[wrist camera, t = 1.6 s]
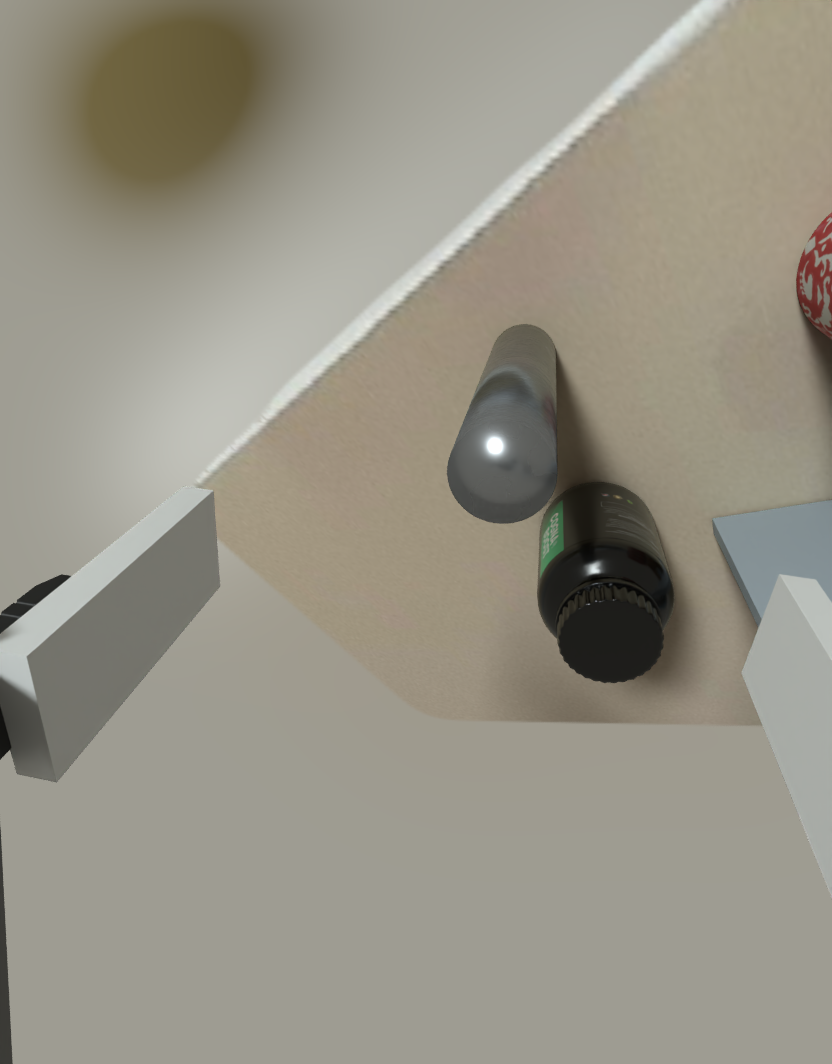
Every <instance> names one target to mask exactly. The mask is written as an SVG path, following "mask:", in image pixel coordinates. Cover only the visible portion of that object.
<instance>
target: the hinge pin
mask: <svg viewBox="0 0 832 1064" xmlns="http://www.w3.org/2000/svg"><path fill="white" fill-rule="evenodd" d="M447 476H448V482H449V486H450V489H451V491H452V493H453V495H454V497H455V499H456V500H457V501H458V503H459V504H460V505H461V506H462V507H463V508H464V509H465V510H466V511H468V512H469V513H470V514H472V515H473V516H475V517H477V518H479V519H482V520H485V521H488V522H493V523H514V522H518V521H522V520H524V519H527V518H529V517H531V516H532V515H534V514H536V513H537V512H538V511H540V510H541V509H542V508H543V507H544V506H545V505H546V503H547V502H548V501H549V499H550V497H551V496H552V494H553V492H554V489H555V486H556V482H557V411H556V351H555V347H554V344H553V341H552V340H551V338H550V337H549V335H548V334H547V333H546V332H545V331H543V330H542V329H540V328H538V327H536V326H533V325H528V324H522V325H516V326H513V327H511V328H509V329H507V330H506V331H504V332H503V333H502V334H501V335H500V336H499V337H498V338H497V340H496V342H495V344H494V346H493V348H492V351H491V353H490V356H489V358H488V361H487V363H486V366H485V368H484V371H483V374H482V376H481V379H480V381H479V384H478V386H477V389H476V391H475V394H474V396H473V399H472V401H471V404H470V406H469V409H468V411H467V414H466V416H465V419H464V421H463V424H462V426H461V429H460V432H459V434H458V437H457V439H456V442H455V444H454V447H453V449H452V452H451V454H450V457H449V461H448V466H447Z"/></svg>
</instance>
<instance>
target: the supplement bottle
mask: <svg viewBox="0 0 832 1064" xmlns="http://www.w3.org/2000/svg"><path fill="white" fill-rule="evenodd" d="M537 597H538V607H539V612H540V615H541V617H542V619H543V622H544V623H545V625H546V627H547V628H548V629H549V631H550V632H551V633H552V634H553V635H554V636H555V637H556V638H557V641H558V646H559V651H560V654H561V655H562V656H563V659H564V661H565V662H566V663H568V664H569V667H570V668H572V669H574V670H575V671H576V673H578V674H581V675H583V676H584V677H585V678H590V679H592V680H593V681H601V682H603V683H607V682H611V683H617V682H625V681H627V680H632V679H635V678H636V677H637V676H641V675H643V674H644V673H645V672H646V671H648V670H650V669H651V666H653V665H654V664H656V662H657V659H658V658H659V657H660V656H661V650H662V649H663V640H664V635H663V630H664V628H665V627H666V625H667V624H668V622H669V620H670V618H671V615H672V612H673V608H674V601H675V595H674V587H673V582H672V579H671V575H670V572H669V569H668V565H667V562H666V559H665V556H664V552H663V549H662V546H661V543H660V540H659V536H658V533H657V530H656V527H655V524H654V521H653V518H652V515H651V513H650V511H649V509H648V508H647V506H646V505H645V503H644V502H643V501H642V500H641V499H640V498H639V497H638V496H637V495H636V494H634V493H633V492H631V491H630V490H628V489H626V488H624V487H621V486H619V485H616V484H612V483H605V482H591V483H585V484H581V485H578V486H575V487H573V488H571V489H569V490H567V491H565V492H564V493H562V494H561V495H560V496H558V497H557V498H556V499H555V500H554V501H553V502H552V503H551V505H550V506H549V507H548V509H547V511H546V513H545V515H544V517H543V520H542V523H541V528H540V539H539V565H538V591H537Z"/></svg>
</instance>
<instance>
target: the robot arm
mask: <svg viewBox="0 0 832 1064" xmlns="http://www.w3.org/2000/svg"><path fill="white" fill-rule="evenodd" d="M219 587H220V578H219V564H218V550H217V535H216V521H215V506H214V492H213V490H207V489H200V488H193V487H186V486H183V487H182V488H181V489H180V490H178V491H177V492H176V493H175V494H173V495H172V496H171V497H170V498H168V499H167V500H166V501H165V502H163V503H162V504H161V505H160V506H158V507H157V508H156V509H155V510H153V511H152V512H151V513H150V514H149V515H147V516H146V517H145V518H143V519H142V520H141V521H140V522H139V523H137V524H136V525H135V526H134V527H132V528H131V529H130V530H129V531H127V532H126V533H125V534H124V535H122V536H121V537H120V538H119V539H117V540H116V541H115V542H114V543H112V544H111V545H110V546H109V547H107V548H106V549H105V550H104V551H102V552H101V553H100V554H99V555H97V556H96V557H95V558H94V559H93V560H91V561H90V562H89V563H88V564H86V565H85V566H84V567H83V568H81V569H80V570H79V571H78V572H76V573H75V574H74V575H73V576H68V575H59V576H57V577H55V578H53V579H50V580H48V581H46V582H43V583H41V584H39V585H36V586H35V587H34V588H32V589H31V590H30V591H29V592H27V593H26V594H25V595H23V596H22V597H21V598H19V599H18V600H17V603H13V604H11V605H10V606H9V607H7V608H6V609H5V610H4V611H2V613H1V615H0V759H1V758H2V757H3V756H4V755H5V754H6V753H7V752H8V751H9V750H10V751H11V754H12V758H13V762H14V765H15V769H16V773H17V774H19V775H24V776H29V777H34V778H39V779H43V780H48V781H53V782H57V781H58V780H59V779H60V778H61V777H62V775H63V774H64V773H65V772H66V771H67V770H68V768H69V767H70V766H71V764H73V762H74V761H75V760H76V759H77V758H78V756H79V755H80V754H81V753H82V752H83V750H84V749H85V748H86V747H87V746H88V744H89V743H90V742H91V741H92V740H93V738H94V737H95V736H96V735H97V734H98V732H99V731H100V730H101V729H102V728H103V726H104V725H105V724H106V723H107V721H108V720H109V719H110V718H111V717H112V716H113V714H114V713H115V712H116V711H117V710H118V708H119V707H120V706H121V705H122V704H123V702H124V701H125V700H126V699H127V698H128V696H129V695H130V694H131V693H132V692H133V690H134V689H135V688H136V687H137V686H138V684H139V683H140V682H141V681H142V680H143V678H144V677H145V676H146V675H147V674H148V672H149V671H150V670H151V669H152V667H153V666H154V665H155V664H156V663H157V662H158V660H159V659H160V658H161V657H162V655H163V654H164V653H165V652H166V651H167V649H168V648H169V647H170V646H171V645H172V644H173V642H174V641H175V640H176V639H177V638H178V636H179V635H180V634H181V633H182V632H183V630H184V629H185V628H186V627H187V626H188V624H189V623H190V622H191V621H192V620H193V618H194V617H195V616H196V615H197V614H198V612H199V611H200V610H201V609H202V608H203V606H204V605H205V604H206V603H207V602H208V600H209V599H210V598H211V597H212V596H213V594H214V593H215V592H216V591H217V589H218V588H219ZM742 676H743V678H744V681H745V683H746V686H747V688H748V691H749V693H750V696H751V698H752V701H753V703H754V706H755V708H756V711H757V713H758V716H759V718H760V721H761V723H762V726H763V728H764V730H765V733H766V735H767V738H768V740H769V743H770V745H771V748H772V750H773V753H774V755H775V758H776V760H777V763H778V765H779V768H780V770H781V773H782V775H783V778H784V780H785V783H786V785H787V787H788V790H789V792H790V795H791V798H792V800H793V803H794V805H795V808H796V810H797V812H798V815H799V818H800V820H801V823H802V825H803V828H804V830H805V832H806V835H807V837H808V840H809V843H810V845H811V848H812V850H813V853H814V855H815V858H816V860H817V862H818V865H819V867H820V870H821V873H822V875H823V877H824V880H825V883H826V885H827V888H828V890H829V892H830V895H831V898H832V602H831V601H830V599H829V598H828V596H827V595H826V593H825V592H824V591H823V589H822V588H821V586H820V585H819V583H818V582H817V580H816V579H809V578H802V577H795V576H789V575H782V574H779V576H778V578H777V581H776V584H775V586H774V589H773V591H772V594H771V597H770V599H769V602H768V605H767V607H766V610H765V612H764V615H763V618H762V620H761V623H760V626H759V628H758V631H757V633H756V636H755V639H754V641H753V644H752V647H751V649H750V652H749V654H748V657H747V660H746V662H745V665H744V667H743V670H742ZM0 1064H12V1046H11V1026H10V1006H9V987H8V967H7V947H6V928H5V908H4V888H3V868H2V849H1V830H0Z"/></svg>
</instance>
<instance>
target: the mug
mask: <svg viewBox="0 0 832 1064" xmlns="http://www.w3.org/2000/svg"><path fill="white" fill-rule="evenodd" d="M796 281H797V294H798V299H799V302H800V305H801V307H802V309H803V311H804V313H805V315H806V316H807V318H808V319H809V321H810V322H811V323H812V324H813V325H814V326H815V327H816V328H817V329H818V330H820V331H821V332H822V333H823V334H825V335H826V336H827V337H829V338H830V339H831V340H832V213H830V214H829V215H828V216H827V217H826V218H825V219H824V220H823V221H822V223H821V224H820V225H819V226H818V228H817V229H816V230H815V232H814V233H813V234H812V236H811V238H810V239H809V241H808V243H807V245H806V247H805V249H804V251H803V253H802V256H801V259H800V263H799V267H798V272H797V279H796Z"/></svg>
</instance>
